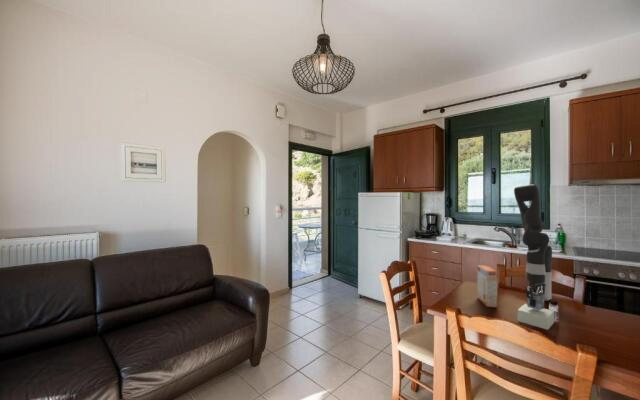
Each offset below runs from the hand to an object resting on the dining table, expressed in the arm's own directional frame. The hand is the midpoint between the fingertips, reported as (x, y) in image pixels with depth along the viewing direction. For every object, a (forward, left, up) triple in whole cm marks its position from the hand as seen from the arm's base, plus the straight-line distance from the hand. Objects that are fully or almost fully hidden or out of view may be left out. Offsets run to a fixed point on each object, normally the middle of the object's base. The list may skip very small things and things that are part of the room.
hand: (535, 305), depth 136 cm
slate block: (0, 0, -1) cm, 1 cm away
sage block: (0, 0, -9) cm, 9 cm away
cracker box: (-2, -26, -9) cm, 27 cm away
